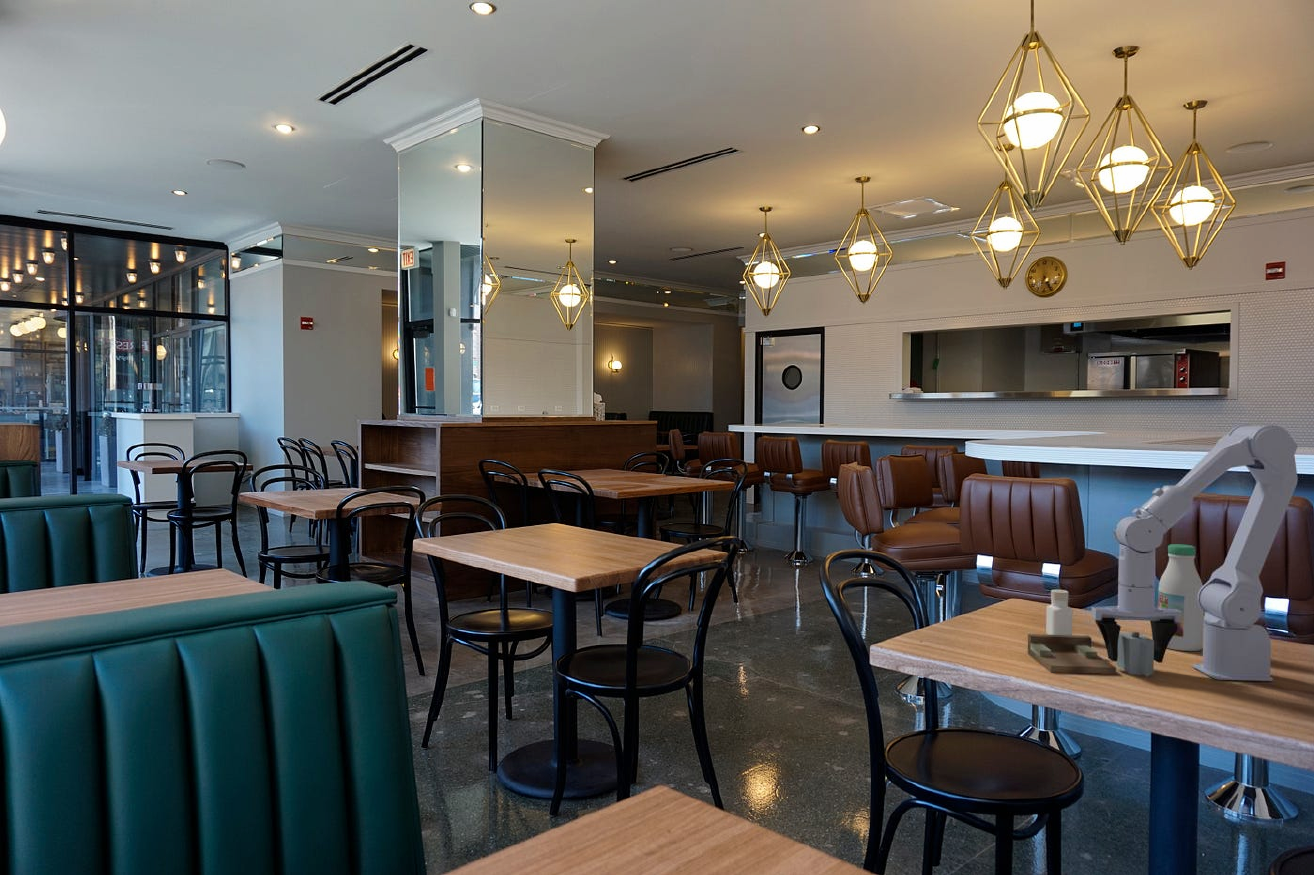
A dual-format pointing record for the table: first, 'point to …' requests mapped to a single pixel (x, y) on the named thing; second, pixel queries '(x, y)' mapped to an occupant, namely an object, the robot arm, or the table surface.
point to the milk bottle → (1183, 597)
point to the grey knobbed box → (1135, 653)
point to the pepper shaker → (1059, 614)
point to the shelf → (1067, 654)
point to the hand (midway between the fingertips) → (1134, 660)
